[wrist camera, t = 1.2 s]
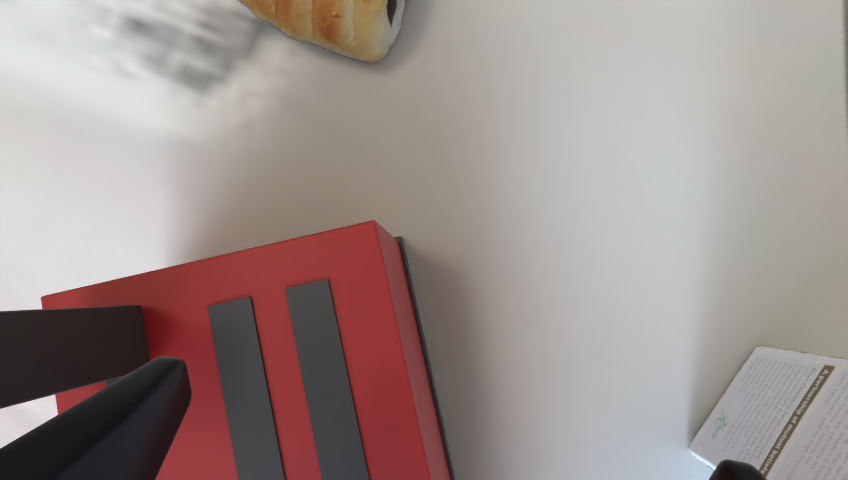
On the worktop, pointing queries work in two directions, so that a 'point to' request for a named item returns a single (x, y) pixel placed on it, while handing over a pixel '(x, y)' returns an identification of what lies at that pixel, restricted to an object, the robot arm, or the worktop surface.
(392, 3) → the pastry
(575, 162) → the worktop surface
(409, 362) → the toaster
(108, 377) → the slider
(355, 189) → the worktop surface
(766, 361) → the syrup box
